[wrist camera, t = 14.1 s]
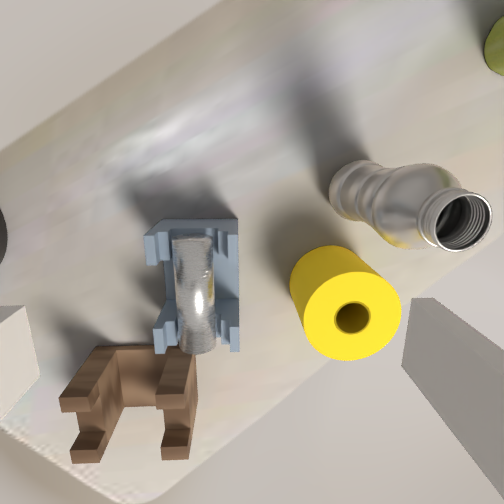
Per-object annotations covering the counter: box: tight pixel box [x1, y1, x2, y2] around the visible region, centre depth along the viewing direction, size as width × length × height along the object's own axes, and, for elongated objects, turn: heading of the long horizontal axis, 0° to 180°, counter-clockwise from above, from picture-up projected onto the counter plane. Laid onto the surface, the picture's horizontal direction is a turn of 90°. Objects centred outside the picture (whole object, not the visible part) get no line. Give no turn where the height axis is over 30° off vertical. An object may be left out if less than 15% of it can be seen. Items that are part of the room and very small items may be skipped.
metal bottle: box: [329, 160, 492, 252], centre depth 29 cm, size 6×7×20 cm
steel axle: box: [172, 233, 216, 355], centre depth 34 cm, size 12×4×4 cm, turn 0°
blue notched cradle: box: [144, 219, 239, 354], centre depth 37 cm, size 9×13×8 cm
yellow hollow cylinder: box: [289, 245, 401, 361], centre depth 38 cm, size 10×10×9 cm
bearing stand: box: [59, 344, 198, 464], centre depth 40 cm, size 9×13×10 cm
